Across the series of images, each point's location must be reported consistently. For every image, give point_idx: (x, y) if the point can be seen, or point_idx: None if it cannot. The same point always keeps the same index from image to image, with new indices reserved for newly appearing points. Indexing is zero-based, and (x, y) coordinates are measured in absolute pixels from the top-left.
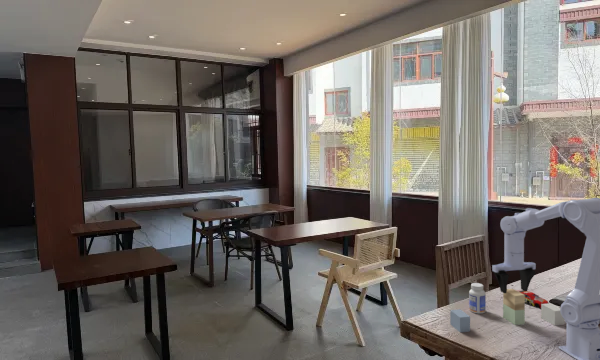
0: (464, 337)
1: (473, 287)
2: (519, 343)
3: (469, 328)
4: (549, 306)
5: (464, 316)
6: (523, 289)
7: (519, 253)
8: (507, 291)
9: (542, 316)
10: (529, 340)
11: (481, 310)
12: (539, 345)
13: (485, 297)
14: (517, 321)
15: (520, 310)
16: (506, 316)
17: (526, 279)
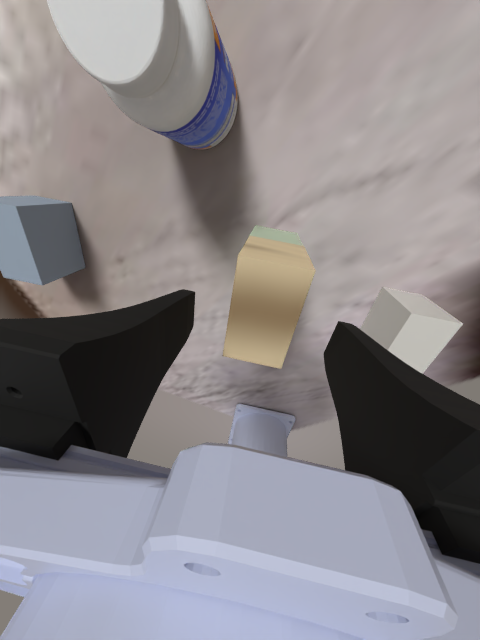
0: (58, 290)
1: (66, 31)
2: (176, 361)
3: (76, 270)
4: (408, 343)
5: (22, 276)
6: (331, 342)
7: None
8: (235, 295)
9: (382, 296)
10: (209, 362)
11: (190, 147)
12: (212, 381)
13: (205, 115)
14: None
15: None
16: None
17: (346, 430)
